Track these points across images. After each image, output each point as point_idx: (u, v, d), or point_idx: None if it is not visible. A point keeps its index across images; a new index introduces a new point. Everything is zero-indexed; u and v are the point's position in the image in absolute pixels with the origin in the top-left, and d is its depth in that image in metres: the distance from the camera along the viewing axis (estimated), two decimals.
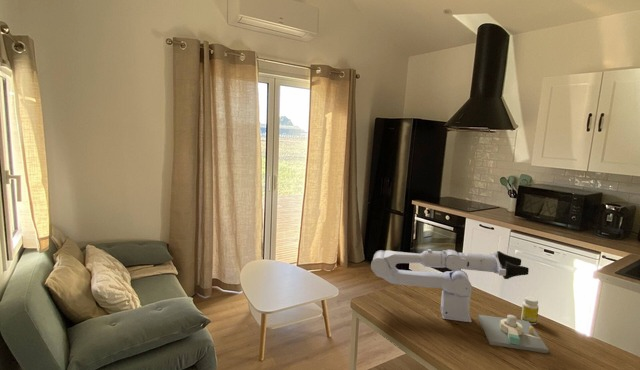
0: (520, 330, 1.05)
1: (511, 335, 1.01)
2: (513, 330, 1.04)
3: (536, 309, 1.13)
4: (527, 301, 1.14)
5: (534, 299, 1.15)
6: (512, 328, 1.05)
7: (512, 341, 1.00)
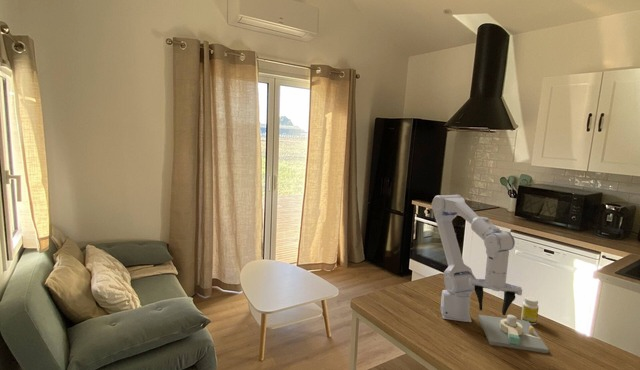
0: (520, 330, 1.05)
1: (511, 335, 1.01)
2: (513, 330, 1.04)
3: (536, 309, 1.13)
4: (527, 301, 1.14)
5: (534, 299, 1.15)
6: (512, 328, 1.05)
7: (512, 341, 1.00)
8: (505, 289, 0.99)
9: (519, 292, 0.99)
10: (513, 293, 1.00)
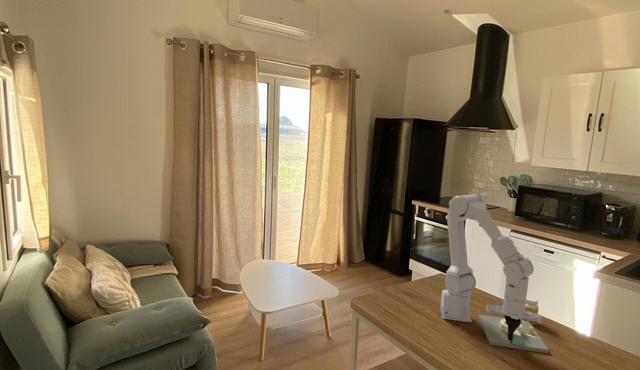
0: (521, 330, 1.05)
1: (514, 336, 1.01)
2: (515, 331, 1.04)
3: (536, 309, 1.13)
4: (527, 301, 1.14)
5: (534, 299, 1.15)
6: None
7: (515, 342, 1.00)
8: (524, 317, 0.98)
9: (538, 320, 0.98)
10: (519, 318, 1.00)
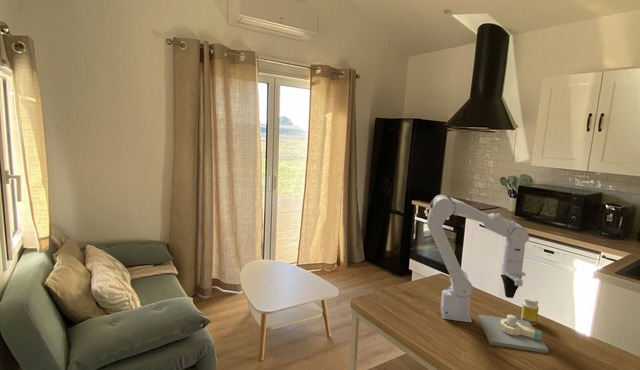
0: None
1: (538, 332, 1.03)
2: (526, 328, 1.05)
3: (536, 309, 1.13)
4: (527, 301, 1.14)
5: (534, 299, 1.15)
6: (521, 326, 1.06)
7: None
8: None
9: None
10: None
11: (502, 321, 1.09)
